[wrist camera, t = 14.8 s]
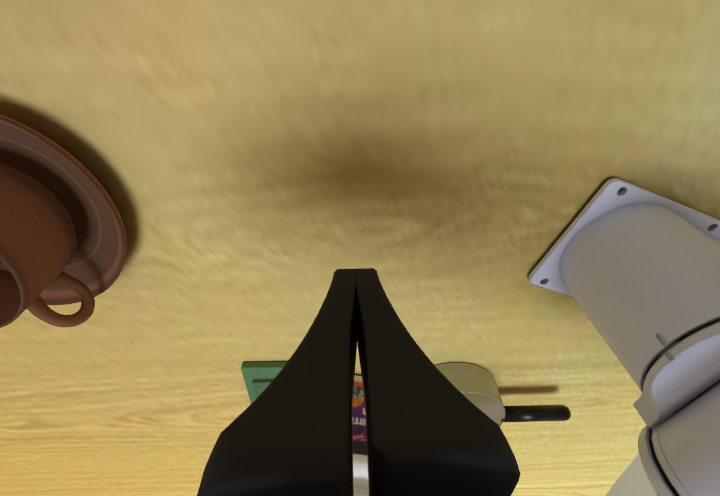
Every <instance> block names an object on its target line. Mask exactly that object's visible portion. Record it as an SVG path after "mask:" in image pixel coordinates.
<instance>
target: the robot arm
mask: <svg viewBox="0 0 720 496" xmlns="http://www.w3.org/2000/svg"><path fill="white" fill-rule="evenodd" d="M621 188H623V189H622V190H621V191H620V192H618V190H619V189H621ZM528 279H529V281H530V282H531V284H533V285H536V286H540V287H543V288H546V289H549V290H553V291H556V292H559V293H562V294H566V295H569V296H572V297H574V298H575V299H576V301H577V302H578V303H579V305H580V306H581V308H582V309H583V310H584V312H585V313H586V315H587V316H588V317H589V319H590V320H591V322H592V323H593V324H594V326H595V327H596V329H597V330H598V331H599V333H600V334H601V336H602V337H603V338H604V340H605V341H606V343H607V344H608V345H609V347H610V348H611V350H612V351H613V352H614V354H615V355H616V357H617V358H618V359H619V361H620V362H621V364H622V365H623V366H624V368H625V369H626V371H627V372H628V373H629V375H630V376H631V378H632V379H633V380H634V382H635V383H636V385H637V386H638V387H639V389H640V390H641V392H642V395H641V396H640V398H639V399H638V400H637V401H636V402H634V404H633V405H634V407H635V408H636V410H637V411H638V413H639V414H640V416H641V417H642V418H643V420H644V421H645V423H646V424H647V426H645V427H644V428H643V429H642V431H641V433H640V435H639V438H638V449H639V454H640V458H641V461H642V464H643V467H644V469H645V472H646V474H647V476H648V479H649V481H650V483H651V485H652V487H653V489H654V491H655V492H656V494H657V496H720V220H718V219H716V218H714V217H711V216H709V215H706V214H704V213H701V212H699V211H696V210H694V209H692V208H689V207H687V206H684V205H682V204H679V203H677V202H675V201H672V200H670V199H667V198H665V197H662V196H660V195H657V194H655V193H653V192H650V191H648V190H645V189H643V188H640V187H638V186H636V185H633V184H631V183H628V182H626V181H623V180H621V179H618V178H612V179H610V180H608V181H607V182H606V183H604V185H603V186H602V187H601V188H600V190H599V191H598V192H597V193H596V194H595V196H594V197H593V198H592V199H591V200H590V202H589V203H588V204H587V205H586V207H585V208H584V209H583V210H582V211H581V213H580V214H579V215H578V216H577V217H576V219H575V220H574V221H573V222H572V224H571V225H570V226H569V227H568V228H567V230H566V231H565V232H564V233H563V234H562V236H561V237H560V238H559V239H558V241H557V242H556V243H555V244H554V245H553V247H552V248H551V249H550V250H549V251H548V253H547V254H546V255H545V256H544V258H543V259H542V260H541V261H540V262H539V264H538V265H537V266H536V267H535V268H534V270H533V271H532V272H531V273H530V275H529V276H528ZM542 279H544V280H542ZM541 280H542V281H541ZM357 342H358V350H359V358H360V366H361V374H362V381H363V389H364V397H365V408H366V429H367V456H368V483H369V496H511V494H512V492H513V490H514V488H515V486H516V485H517V483H518V481H519V477H520V471H519V469H518V464H517V461H516V459H515V456H514V454H513V452H512V450H511V448H510V446H509V444H508V442H507V440H506V438H505V436H504V434H503V432H502V430H501V429H500V427H499V425H498V424H497V423H496V422H494V421H493V420H492V419H491V418H490V417H488V416H487V415H486V414H485V413H483V412H482V411H481V410H480V409H479V408H478V407H476V406H475V405H474V404H473V403H472V402H471V401H470V400H469V399H467V398H466V397H465V396H464V395H463V394H462V393H461V392H460V391H459V390H458V389H457V388H456V387H455V386H454V385H453V384H452V383H451V382H450V381H449V380H448V379H447V378H446V377H445V376H444V375H443V374H442V373H441V372H440V371H439V370H438V369H437V368H436V367H435V365H434V364H433V363H432V362H431V361H430V360H429V358H428V357H427V356H426V355H425V354H424V352H423V351H422V350H421V349H420V347H419V346H418V345H417V344H416V342H415V341H414V339H413V338H412V337H411V335H410V334H409V333H408V331H407V330H406V328H405V327H404V325H403V324H402V322H401V320H400V319H399V317H398V316H397V314H396V312H395V310H394V309H393V307H392V305H391V303H390V302H389V300H388V298H387V296H386V294H385V292H384V290H383V287H382V285H381V283H380V280H379V277H378V274H377V271H376V270H375V269H374V268H370V269H337V270H336V271H335V272H334V276H333V279H332V283H331V286H330V288H329V291H328V293H327V296H326V298H325V300H324V302H323V304H322V307H321V309H320V311H319V313H318V315H317V317H316V318H315V320H314V322H313V324H312V326H311V327H310V329H309V331H308V333H307V334H306V336H305V337H304V339H303V341H302V342H301V344H300V345H299V347H298V348H297V350H296V351H295V352H294V354H293V355H292V357H291V358H290V359H289V361H288V362H287V363H286V365H285V366H284V367H283V368H282V370H281V371H280V372H279V374H278V375H277V376H276V377H275V378H274V380H273V381H272V382H271V383H270V384H269V385H268V386H267V387H266V389H265V390H264V391H263V392H262V393H261V394H260V395H259V396H258V397H257V398H256V399H255V401H254V402H253V403H252V404H251V405H250V406H249V407H248V408H247V409H246V410H245V411H244V412H243V413H242V414H240V415H239V416H238V417H237V418H236V419H235V420H234V421H233V422H232V423H231V424H230V425H229V426H228V427H227V428H226V429H225V430H224V431H222V432H221V434H220V436H219V438H218V440H217V442H216V444H215V446H214V448H213V450H212V452H211V455H210V457H209V460H208V462H207V464H206V467H205V470H204V473H203V477H202V480H201V484H200V487H199V491H198V494H197V496H354V493H353V429H352V405H353V388H354V375H355V361H356V348H357Z"/></svg>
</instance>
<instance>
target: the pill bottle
mask: <svg viewBox="0 0 720 496" xmlns="http://www.w3.org/2000/svg"><path fill="white" fill-rule="evenodd" d="M352 429H353V493H354V496H369V483H368V456H367V429H366V408H365V397H364V389H363V381H362V376H356V375H354V388H353V405H352Z"/></svg>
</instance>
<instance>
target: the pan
mask: <svg viewBox="0 0 720 496" xmlns="http://www.w3.org/2000/svg"><path fill="white" fill-rule="evenodd" d="M435 367H436V368H437V369H438V370H439V371H440V372H441V373H442V374H443V375H444V376H445V377H446V378H447V379H448V380H449V381H450V382H451V383H452V384H453V385H454V386H455V387H456V388H457V389H458V390H459V391H460V392H461V393H462V394H463V395H464V396H465V397H466V398H467V399H469V400H470V401H471V402H472V403H473V404H474V405H475V406H476V407H478V408H479V409H480V410H481V411H482V412H483V413H485V414H486V415H487V416H488V417H490V418H491V419H492V420H493V421H494V422H496V423H497V424H498V425H499V427H500V426H501V424H502V423H503V422H529V421H565V420H568V419H569V418H570V416H571V413H570V410H569V409H568V408H567V407H566V406H564V405H532V406H504V405H503V402H502V399H501V396H500V394H499V391H498V388H497V386H496V383H495V380H494V378H493V376H492V375H491V374H490V373H489V372H488V371H487V370H485V369H484V368H482V367H480V366H477V365H474V364H469V363H458V362H455V363H444V364H439V365H435Z"/></svg>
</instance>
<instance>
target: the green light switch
mask: <svg viewBox="0 0 720 496" xmlns="http://www.w3.org/2000/svg"><path fill="white" fill-rule="evenodd" d="M287 362H288V361H284V362H243V363H242V367H241V369H242V373H243V376H244V380H245V383H246V386H247V390H248V393H249V397H250V400H251V404H252V403H253V402H254V401H255V399H256V398H257V397H258V396H259V395H260V394H261V393H262V392H263V391H264V390H265V389H266V387H267V386H268V385H269V384H270V383H271V382H272V381H273V380H274V378H275V377H276V376H277V375H278V374H279V372H280V371H281V370H282V368H283V367H284V366H285V365H286V363H287Z"/></svg>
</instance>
